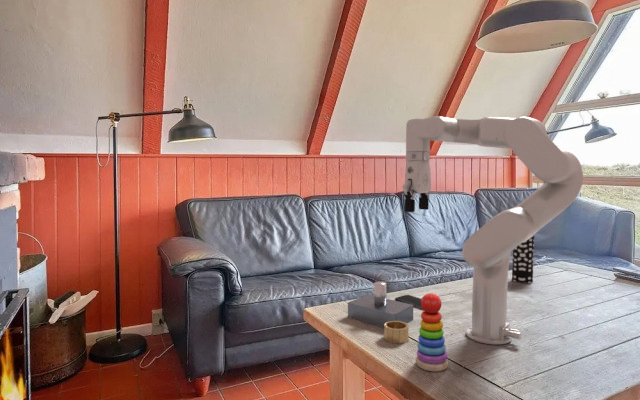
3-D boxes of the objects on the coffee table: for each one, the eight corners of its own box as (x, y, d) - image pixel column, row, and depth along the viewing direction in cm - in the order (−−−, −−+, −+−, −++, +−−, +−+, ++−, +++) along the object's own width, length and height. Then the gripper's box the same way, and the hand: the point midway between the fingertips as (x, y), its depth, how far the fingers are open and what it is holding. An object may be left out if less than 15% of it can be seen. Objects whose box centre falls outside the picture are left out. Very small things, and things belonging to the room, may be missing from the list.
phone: (407, 294, 168) (439, 304, 156) (407, 297, 169) (439, 307, 157) (393, 298, 164) (424, 308, 152) (393, 301, 164) (424, 311, 152)
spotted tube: (507, 279, 193) (508, 234, 191) (522, 277, 195) (524, 233, 194) (521, 283, 185) (522, 237, 183) (537, 282, 187) (538, 236, 186)
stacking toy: (424, 355, 116) (425, 287, 114) (453, 364, 111) (454, 292, 109) (410, 366, 110) (411, 294, 108) (440, 376, 105) (441, 300, 103)
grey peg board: (413, 319, 143) (413, 284, 142) (393, 330, 134) (394, 292, 133) (368, 308, 155) (368, 275, 154) (347, 317, 146) (347, 282, 145)
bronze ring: (412, 337, 128) (412, 324, 128) (400, 345, 123) (400, 331, 122) (392, 332, 133) (392, 319, 132) (379, 338, 127) (379, 325, 127)
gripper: (415, 157, 131) (415, 213, 132) (439, 157, 144) (438, 209, 145) (393, 157, 135) (393, 212, 137) (419, 158, 149) (418, 207, 150)
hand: (416, 210), depth 141 cm, fingers open, 9 cm apart
